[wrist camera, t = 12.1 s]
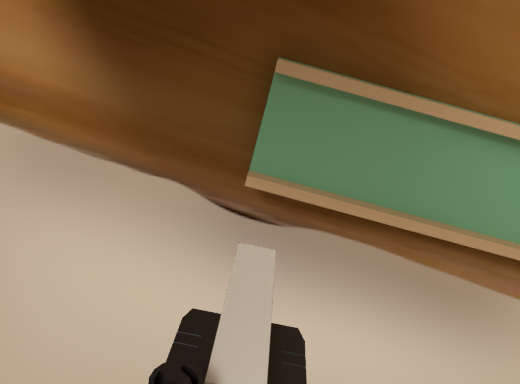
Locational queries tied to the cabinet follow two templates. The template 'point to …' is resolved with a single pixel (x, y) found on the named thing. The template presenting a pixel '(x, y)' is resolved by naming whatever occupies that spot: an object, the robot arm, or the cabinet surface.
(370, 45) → the cabinet surface
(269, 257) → the robot arm
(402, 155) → the putting strip
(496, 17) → the cabinet surface
